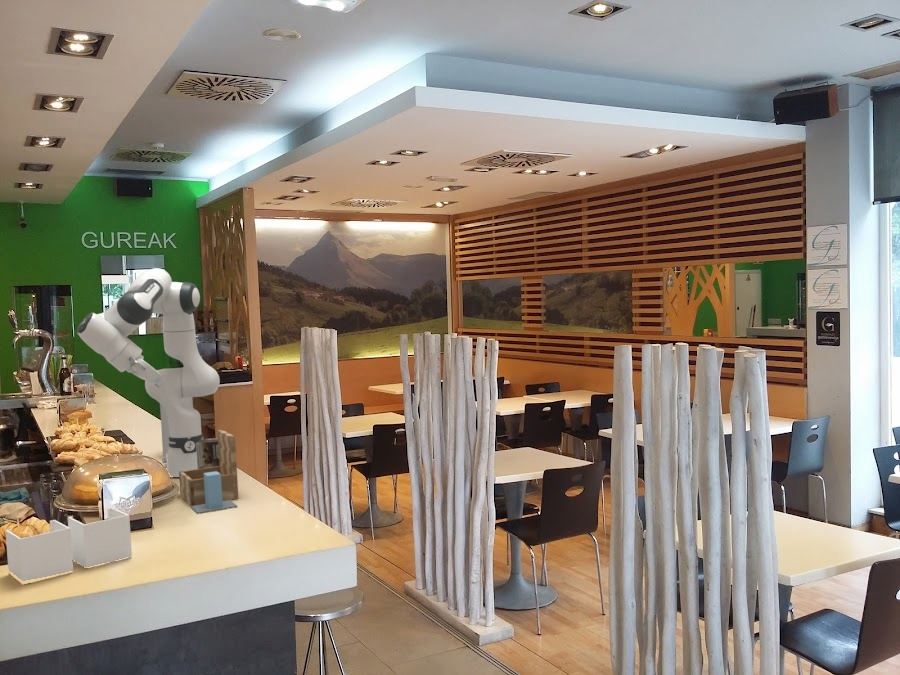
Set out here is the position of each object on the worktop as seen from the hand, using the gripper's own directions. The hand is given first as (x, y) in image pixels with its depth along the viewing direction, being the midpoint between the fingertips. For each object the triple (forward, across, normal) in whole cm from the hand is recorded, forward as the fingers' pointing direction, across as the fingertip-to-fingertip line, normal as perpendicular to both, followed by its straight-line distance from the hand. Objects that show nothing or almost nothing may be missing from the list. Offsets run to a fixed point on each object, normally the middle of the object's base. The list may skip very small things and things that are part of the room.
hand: (163, 387), depth 245 cm
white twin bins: (+5, -40, +49) cm, 63 cm away
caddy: (+36, +7, +17) cm, 40 cm away
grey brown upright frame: (+40, +21, +14) cm, 47 cm away
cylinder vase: (+40, +82, +13) cm, 92 cm away
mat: (+34, -6, +18) cm, 40 cm away
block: (+34, -6, +18) cm, 39 cm away
